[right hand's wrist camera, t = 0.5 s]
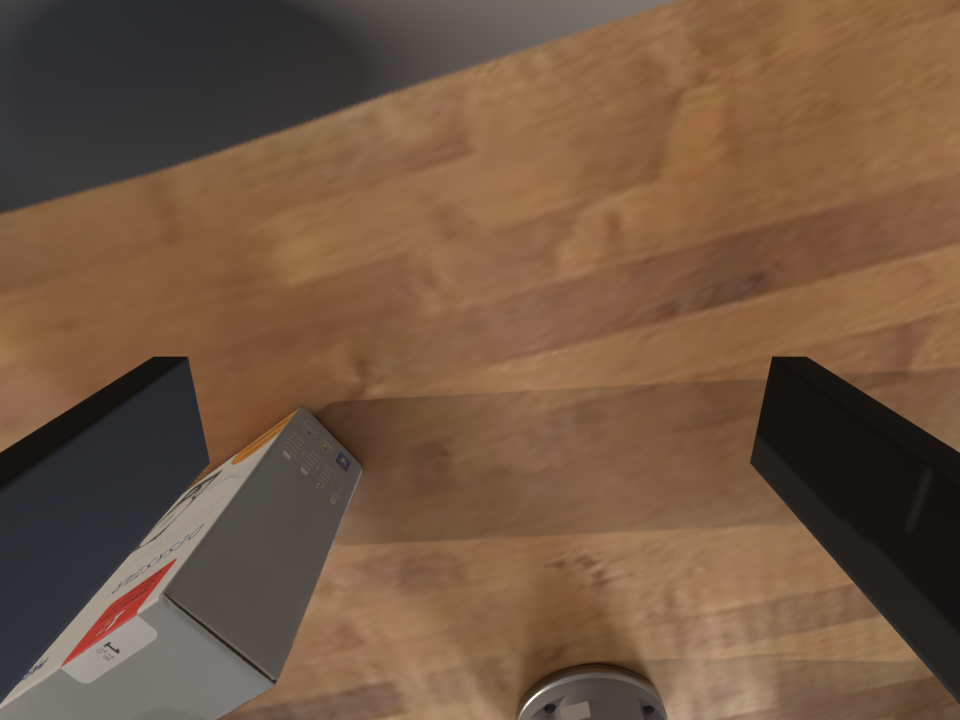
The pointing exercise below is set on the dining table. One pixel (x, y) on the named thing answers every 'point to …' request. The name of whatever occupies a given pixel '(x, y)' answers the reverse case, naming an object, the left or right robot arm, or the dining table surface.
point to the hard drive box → (204, 591)
